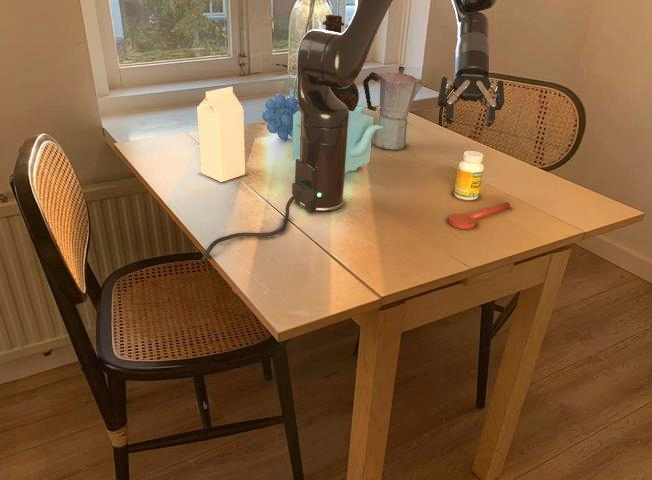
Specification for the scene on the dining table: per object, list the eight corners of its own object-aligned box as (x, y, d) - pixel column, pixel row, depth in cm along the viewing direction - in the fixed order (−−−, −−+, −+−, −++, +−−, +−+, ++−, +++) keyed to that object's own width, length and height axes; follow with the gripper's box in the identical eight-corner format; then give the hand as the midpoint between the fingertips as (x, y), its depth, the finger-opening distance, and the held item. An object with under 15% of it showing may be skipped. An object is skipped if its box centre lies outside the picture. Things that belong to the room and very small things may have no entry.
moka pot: (418, 152, 150) (429, 72, 140) (358, 149, 150) (365, 69, 139) (414, 140, 158) (424, 63, 148) (357, 137, 158) (363, 60, 147)
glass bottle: (291, 110, 178) (293, 9, 163) (347, 108, 182) (354, 10, 167) (304, 128, 163) (307, 20, 148) (364, 126, 167) (374, 20, 152)
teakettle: (289, 154, 145) (290, 94, 137) (363, 154, 147) (369, 95, 139) (295, 184, 129) (296, 118, 121) (378, 184, 131) (384, 119, 123)
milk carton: (245, 175, 133) (243, 89, 123) (221, 183, 128) (216, 95, 118) (225, 166, 137) (221, 83, 127) (201, 173, 132) (195, 88, 122)
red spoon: (498, 203, 125) (500, 197, 124) (518, 212, 122) (519, 206, 121) (443, 221, 117) (444, 214, 116) (462, 231, 113) (464, 224, 112)
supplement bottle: (462, 188, 131) (470, 147, 126) (483, 196, 128) (491, 154, 123) (448, 195, 128) (455, 152, 123) (469, 203, 125) (477, 160, 119)
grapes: (265, 145, 150) (265, 98, 143) (260, 137, 155) (260, 91, 149) (309, 143, 153) (310, 97, 146) (303, 135, 158) (304, 90, 152)
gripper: (443, 46, 129) (440, 113, 125) (508, 50, 128) (507, 117, 125) (437, 66, 136) (434, 130, 133) (498, 70, 136) (497, 134, 132)
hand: (470, 123), depth 129 cm, fingers open, 8 cm apart
